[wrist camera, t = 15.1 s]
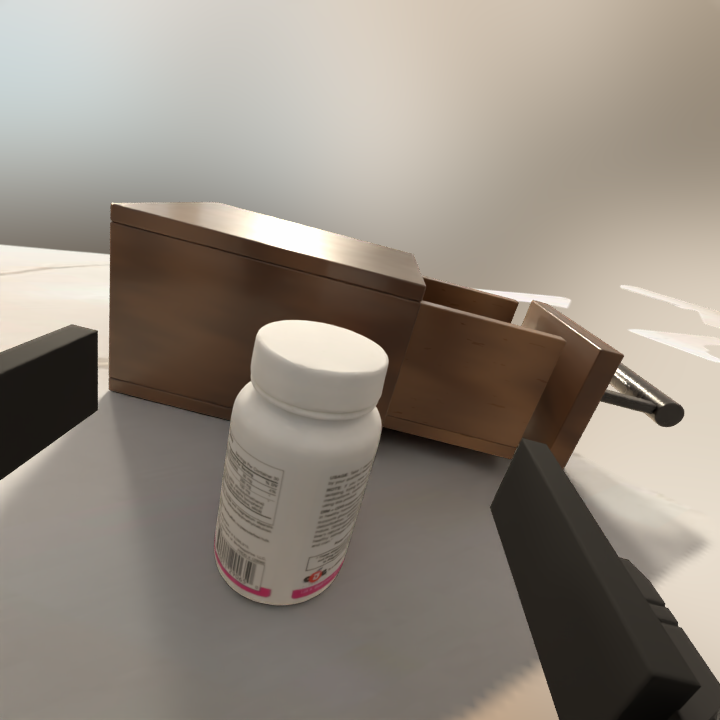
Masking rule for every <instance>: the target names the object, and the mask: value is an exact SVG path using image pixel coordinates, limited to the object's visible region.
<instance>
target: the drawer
mask: <svg viewBox="0 0 720 720" xmlns="http://www.w3.org/2000/svg"><path fill="white" fill-rule="evenodd" d="M422 277H423V280H424V282H425V285H426V290H425V293H424V296H423V299H422V301H421V306H420V309H419V312H418V315H417V319H416V322H415V325H414V328H413V331H412V335H411V338H410V341H409V344H408V347H407V351H406V354H405V357H404V360H403V363H402V367H401V370H400V373H399V376H398V380H397V383H396V386H395V389H394V392H393V396H392V399H391V402H390V405H389V408H388V412H387V415H386V418H385V421H384V425H383V427H385V428H389V429H393V430H397V431H401V432H405V433H409V434H413V435H417V436H421V437H425V438H429V439H433V440H437V441H440V442H444V443H448V444H452V445H456V446H460V447H464V448H468V449H472V450H476V451H480V452H484V453H488V454H492V455H496V456H499V457H503V458H507V459H512V458H513V455H514V453H515V451H516V449H517V447H518V444H520V442H521V440H522V438H524V439H528V440H532V441H536V442H540V443H544V444H547V446H548V447H549V449H550V450H551V452H552V453H553V455H554V457H555V458H556V460H557V461H558V463H559V464H560V466H561V468H562V469H564V468H565V466H566V464H567V462H568V460H569V458H570V456H571V454H572V453H573V451H574V449H575V447H576V445H577V443H578V441H579V439H580V438H581V436H582V433H583V432H584V430H585V428H586V426H587V424H588V423H589V421H590V419H591V417H592V415H593V413H594V411H595V410H596V408H597V406H598V404H599V402H600V401H601V402H605V403H609V404H613V405H617V406H621V407H624V408H629V409H632V410H636V411H640V412H644V413H645V414H646V415H647V416H649V417H650V418H651V419H652V420H653V421H654V422H656V423H657V424H658V425H660V426H662V427H671V426H674V425H676V424H677V423H679V422H680V421H681V420H682V418H683V417H684V409H683V407H682V406H681V405H679V404H678V403H677V402H675V401H674V400H672V399H671V398H670V397H668V396H667V395H665V394H664V393H662V392H661V391H659V390H658V389H657V388H656V387H654V386H653V385H651V384H650V383H649V382H647V381H646V380H644V379H643V378H642V377H640V376H639V375H637V374H636V373H635V372H633V371H632V370H630V369H629V368H627V367H626V366H624V365H623V364H622V363H621V361H622V359H623V357H624V355H623V354H621V353H620V352H618V351H617V350H615V349H613V348H612V347H611V346H609V345H608V344H606V343H605V342H603V341H602V340H601V339H599V338H598V337H596V336H594V335H593V334H591V333H590V332H589V331H587V330H585V329H584V328H583V327H581V326H579V325H578V324H576V323H575V322H574V321H572V320H571V319H569V318H568V317H566V316H565V315H563V314H562V313H560V312H559V311H557V310H556V309H554V308H553V307H551V306H550V305H548V304H546V303H542V302H538V301H534V300H532V302H531V304H530V306H529V309H528V311H527V314H526V316H525V319H524V321H523V323H522V326H518V325H514V324H511V321H512V319H513V316H514V313H515V311H516V309H517V306H518V302H517V301H516V300H514V299H510V298H506V297H502V296H498V295H495V294H491V293H487V292H483V291H479V290H476V289H472V288H468V287H464V286H460V285H456V284H453V283H449V282H445V281H441V280H437V279H434V278H430V277H426V276H422ZM609 384H611V385H612V386H613V387H614V388H615V389H617V390H618V391H619V392H620V393H617V392H614V391H610V390H606V389H607V387H608V385H609Z"/></svg>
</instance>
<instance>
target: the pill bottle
mask: <svg viewBox="0 0 720 720" xmlns="http://www.w3.org/2000/svg"><path fill="white" fill-rule="evenodd" d="M388 364H389V360H388V356H387V354H386V353H385V351H384V350H383V349H382V348H381V347H380V346H379V345H378V344H376V343H375V342H373V341H372V340H370V339H368V338H366V337H364V336H362V335H360V334H358V333H355V332H353V331H350V330H347V329H344V328H341V327H337V326H334V325H330V324H326V323H320V322H313V321H304V320H283V321H277V322H272V323H269V324H267V325H265V326H263V327H262V328H261V329H260V330H259V331H258V333H257V335H256V340H255V345H254V350H253V355H252V361H251V381H250V382H249V383H248V384H246V385H245V386H244V387H243V388H242V390H241V391H240V392H239V394H238V395H237V397H236V399H235V402H234V406H233V410H232V415H231V422H230V430H229V437H228V443H227V451H226V458H225V465H224V474H223V479H222V487H221V495H220V502H219V510H218V517H217V524H216V531H215V540H214V554H215V560H216V564H217V567H218V570H219V572H220V574H221V575H222V577H223V578H224V580H225V581H226V582H227V584H228V585H229V586H230V587H231V588H232V589H233V590H235V591H236V592H237V593H239V594H240V595H242V596H244V597H246V598H248V599H250V600H253V601H256V602H259V603H264V604H269V605H292V604H297V603H301V602H304V601H307V600H309V599H311V598H313V597H315V596H317V595H318V594H320V593H321V592H323V591H324V590H325V589H326V588H327V587H328V586H329V585H330V584H331V583H332V582H333V581H334V579H335V578H336V576H337V574H338V572H339V571H340V568H341V566H342V564H343V561H344V558H345V555H346V552H347V549H348V545H349V542H350V539H351V535H352V532H353V529H354V525H355V522H356V519H357V516H358V512H359V509H360V506H361V502H362V499H363V496H364V492H365V489H366V485H367V482H368V479H369V475H370V472H371V469H372V466H373V462H374V459H375V455H376V452H377V448H378V445H379V441H380V436H381V429H382V424H381V418H380V414H379V412H378V409H377V408H376V405H377V403H378V400H379V399H380V397H381V394H382V390H383V385H384V380H385V376H386V372H387V368H388Z"/></svg>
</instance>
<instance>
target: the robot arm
mask: <svg viewBox="0 0 720 720" xmlns="http://www.w3.org/2000/svg"><path fill="white" fill-rule="evenodd" d="M97 410H98V331H96V330H92V329H89V328H85V327H81V326H77V325H73V324H72V325H69V326H67V327H64V328H61V329H59V330H56V331H54V332H51V333H49V334H46V335H44V336H41V337H39V338H36V339H33V340H31V341H28V342H26V343H23V344H21V345H18V346H16V347H13V348H11V349H8V350H6V351H3V352H0V480H1V479H3V478H4V477H6V476H7V475H8V474H10V473H11V472H13V471H14V470H15V469H17V468H18V467H19V466H21V465H22V464H24V463H25V462H26V461H28V460H29V459H31V458H32V457H33V456H35V455H36V454H38V453H39V452H40V451H42V450H43V449H44V448H46V447H47V446H49V445H50V444H51V443H53V442H54V441H56V440H57V439H58V438H60V437H61V436H62V435H64V434H65V433H67V432H68V431H69V430H71V429H72V428H74V427H75V426H76V425H78V424H79V423H80V422H82V421H83V420H85V419H86V418H87V417H89V416H90V415H92V414H93V413H94V412H96V411H97ZM490 508H491V512H492V515H493V518H494V521H495V524H496V527H497V530H498V533H499V536H500V539H501V542H502V545H503V548H504V551H505V555H506V558H507V561H508V564H509V567H510V570H511V573H512V576H513V579H514V582H515V585H516V588H517V591H518V594H519V598H520V601H521V604H522V607H523V610H524V613H525V616H526V619H527V622H528V625H529V628H530V631H531V634H532V638H533V641H534V644H535V647H536V650H537V653H538V656H539V659H540V662H541V665H542V668H543V671H544V674H545V677H546V681H547V684H548V687H549V690H550V693H551V696H552V699H553V702H554V705H555V708H556V711H557V714H558V717H559V720H720V683H719V682H718V681H717V679H716V678H715V676H714V675H713V673H712V672H711V671H710V669H709V667H708V666H707V664H706V663H705V661H704V660H703V658H702V657H701V656H700V654H699V653H698V651H697V650H696V648H695V647H694V645H693V644H692V642H691V641H690V639H689V638H688V636H687V635H686V634H685V632H684V631H683V629H682V628H680V627H678V622H677V620H676V619H675V617H674V616H673V614H672V613H671V611H670V610H669V609H668V608H666V607H665V603H664V601H663V600H662V598H661V597H660V595H659V594H658V592H657V591H656V589H655V588H654V587H653V585H652V584H651V582H650V581H649V580H648V579H647V578H646V577H645V576H644V575H643V574H642V573H641V572H640V571H639V570H638V569H637V568H636V567H635V566H634V565H633V564H632V563H631V562H630V561H629V560H627V559H623V558H619V557H618V555H617V554H616V552H615V550H614V549H613V547H612V546H611V544H610V543H609V541H608V539H607V538H606V536H605V535H604V533H603V532H602V530H601V528H600V527H599V525H598V524H597V522H596V521H595V519H594V518H593V516H592V514H591V513H590V511H589V510H588V508H587V507H586V505H585V503H584V502H583V500H582V499H581V497H580V496H579V494H578V493H577V491H576V489H575V488H574V486H573V485H572V483H571V482H570V480H569V478H568V477H567V475H566V474H565V472H564V471H563V469H562V468H561V466H560V464H559V463H558V461H557V460H556V458H555V457H554V455H553V453H552V452H551V450H550V449H549V447H548V446H547V444H544V443H540V442H536V441H532V440H528V439H524V438H522V440H521V442H520V444H519V447H518V449H517V451H516V453H515V455H514V457H513V459H512V461H511V464H510V466H509V468H508V470H507V472H506V474H505V476H504V478H503V481H502V483H501V485H500V487H499V489H498V491H497V493H496V495H495V498H494V500H493V502H492V504H491V506H490Z"/></svg>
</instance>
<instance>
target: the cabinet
mask: <svg viewBox="0 0 720 720" xmlns="http://www.w3.org/2000/svg"><path fill="white" fill-rule="evenodd" d="M110 218H111V220H112V221H113V222H111V223H110V313H109V377H110V378H109V390H111V391H115V392H119V393H123V394H127V395H131V396H135V397H139V398H143V399H147V400H151V401H154V402H158V403H162V404H166V405H170V406H174V407H178V408H182V409H186V410H190V411H194V412H198V413H202V414H206V415H210V416H214V417H218V418H222V419H226V420H230V421H231V415H232V410H233V406H234V402H235V399H236V397H237V395H238V394H239V392H240V391H241V390H242V388H243V387H244V386H245V385H246V384H248V383H249V382H250V381H251V361H252V355H253V350H254V345H255V340H256V335H257V333H258V331H259V330H260V329H261V328H262V327H263V326H265V325H267V324H269V323H272V322H277V321H283V320H304V321H313V322H320V323H326V324H330V325H334V326H337V327H341V328H344V329H347V330H350V331H353V332H355V333H358V334H360V335H362V336H364V337H366V338H368V339H370V340H372V341H373V342H375V343H376V344H378V345H379V346H380V347H381V348H382V349H383V350H384V351H385V353H386V354H387V356H388V360H389V364H388V368H387V372H386V376H385V380H384V385H383V390H382V394H381V397H380V399H379V400H378V403H377V405H376V408H377V409H378V412H379V414H380V418H381V424H382V428H383V425H384V421H385V418H386V415H387V412H388V408H389V405H390V402H391V399H392V396H393V392H394V389H395V386H396V383H397V380H398V376H399V373H400V370H401V367H402V363H403V360H404V357H405V354H406V351H407V347H408V344H409V341H410V338H411V335H412V331H413V328H414V325H415V322H416V319H417V315H418V312H419V309H420V306H421V301H422V299H423V296H424V293H425V290H426V285H425V282H424V280H423V277H422V275H421V273H420V269H419V267H418V264H417V262H416V260H415V257H414V254H411V253H407V252H403V251H400V250H396V249H392V248H388V247H384V246H381V245H377V244H373V243H369V242H366V241H362V240H358V239H354V238H350V237H347V236H343V235H339V234H335V233H331V232H327V231H324V230H320V229H316V228H312V227H309V226H305V225H301V224H297V223H294V222H290V221H286V220H282V219H278V218H275V217H271V216H267V215H263V214H260V213H255V212H252V211H248V210H244V209H240V208H237V207H233V206H229V205H225V204H222V203H218V202H177V203H112V204H111V217H110ZM381 431H382V429H381Z"/></svg>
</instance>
